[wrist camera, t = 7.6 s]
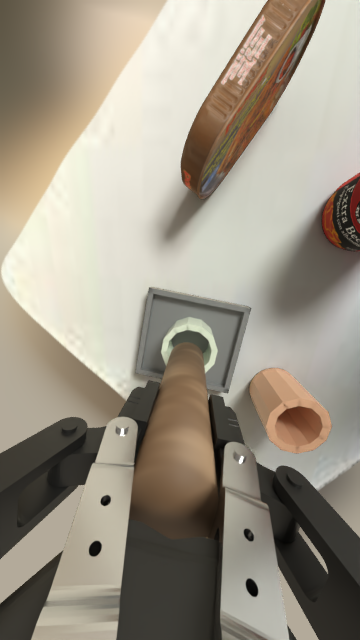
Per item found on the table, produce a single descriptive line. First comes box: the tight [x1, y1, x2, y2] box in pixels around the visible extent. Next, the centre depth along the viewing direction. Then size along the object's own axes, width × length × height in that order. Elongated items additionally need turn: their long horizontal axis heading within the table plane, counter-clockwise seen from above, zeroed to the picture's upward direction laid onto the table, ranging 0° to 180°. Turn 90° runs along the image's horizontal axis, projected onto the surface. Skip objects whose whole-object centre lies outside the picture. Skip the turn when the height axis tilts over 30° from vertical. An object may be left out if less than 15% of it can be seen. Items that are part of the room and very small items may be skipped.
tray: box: [135, 287, 251, 393], centre depth 26 cm, size 12×11×2 cm
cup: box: [249, 368, 332, 453], centre depth 24 cm, size 6×6×7 cm
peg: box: [129, 342, 219, 539], centre depth 13 cm, size 3×3×13 cm
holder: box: [161, 317, 218, 373], centre depth 24 cm, size 6×6×4 cm
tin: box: [181, 0, 325, 199], centre depth 18 cm, size 15×3×8 cm, turn 143°
